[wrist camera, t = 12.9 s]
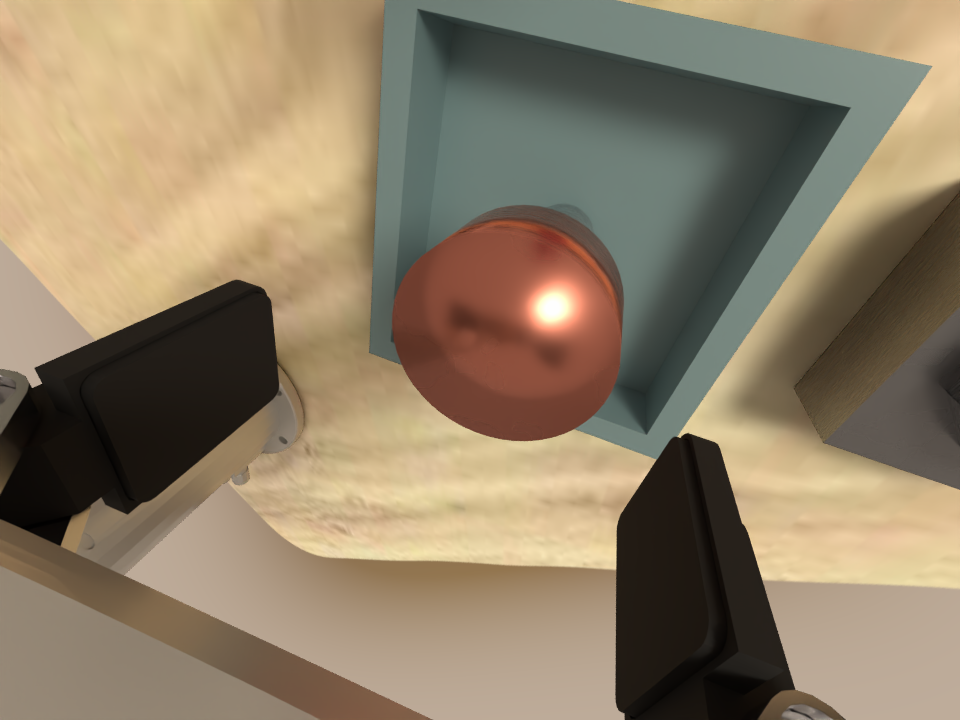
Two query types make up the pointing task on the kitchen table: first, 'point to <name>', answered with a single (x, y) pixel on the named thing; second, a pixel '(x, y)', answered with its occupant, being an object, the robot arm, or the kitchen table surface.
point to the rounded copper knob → (514, 323)
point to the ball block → (899, 365)
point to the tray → (626, 164)
